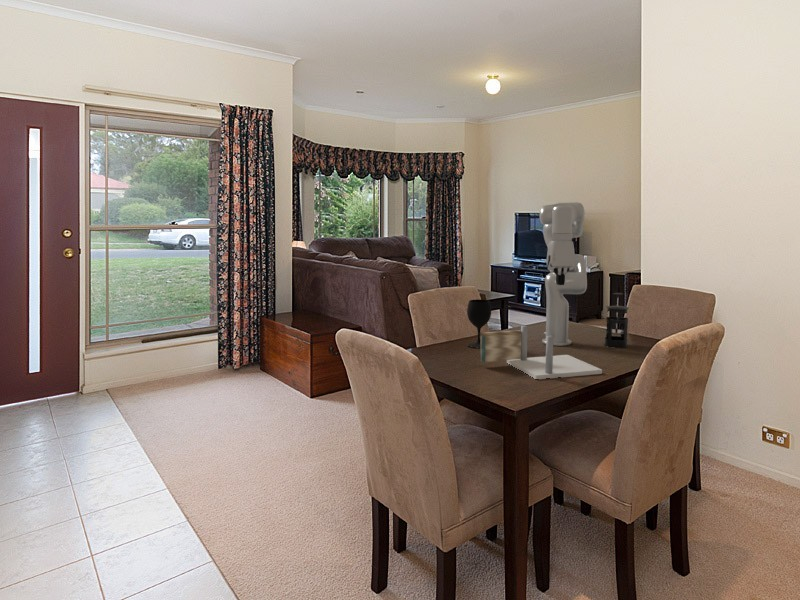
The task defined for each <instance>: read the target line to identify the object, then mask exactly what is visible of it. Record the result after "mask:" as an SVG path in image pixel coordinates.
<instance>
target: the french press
mask: <svg viewBox="0 0 800 600" xmlns="http://www.w3.org/2000/svg"><path fill="white" fill-rule="evenodd" d="M612 295H616V299H617V301H616V303H617V304H616V305H608V306H606V309H607V312H612V311H613V312H616V316H607V317H605V322H606V330H605V331H606V335H605V337H604V344H603V345H604V346H605V347H607V346H608V347H607V348H611V347H615V348H614V349H624V348H623V347H626V348H627V347H628V329H629V328H628V324H629V318H628V317H626V316H625V317H622V316H618V315H619V314H623V315H624V314H628V310H629V309H630V308H629V307H628V306H625V305H624V306H623V305H619V298H620V296H623V295H624V293H623V292H614V293H612ZM613 324H615V326H616V327H615V329H614V328H613ZM618 324H620V329H618Z"/></svg>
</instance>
